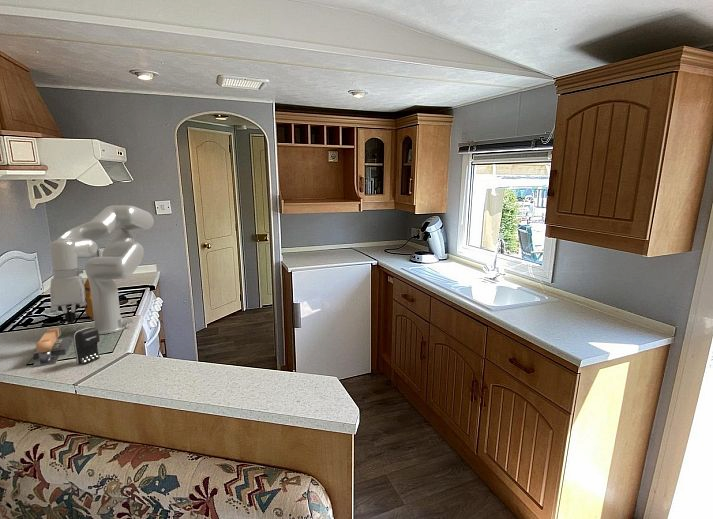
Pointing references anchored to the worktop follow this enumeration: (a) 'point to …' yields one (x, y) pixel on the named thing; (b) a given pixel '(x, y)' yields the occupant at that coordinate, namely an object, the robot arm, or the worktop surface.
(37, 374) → the worktop surface
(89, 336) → the battery charger
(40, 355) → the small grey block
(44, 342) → the swing bar
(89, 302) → the coffee package
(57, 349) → the label panel
